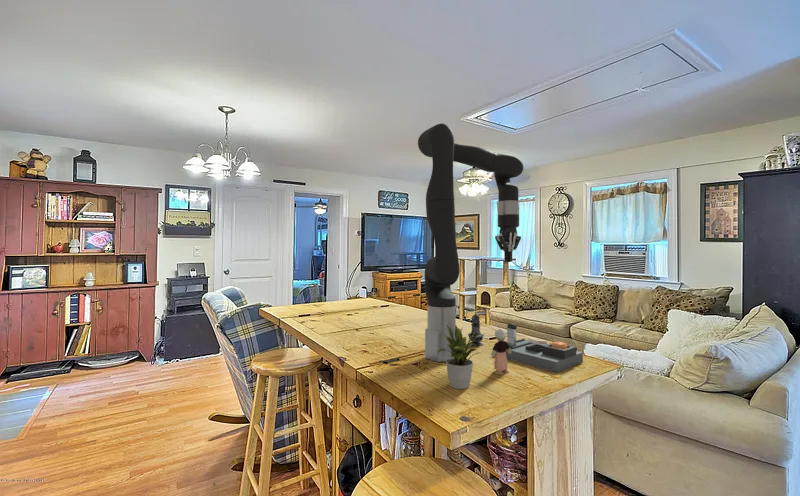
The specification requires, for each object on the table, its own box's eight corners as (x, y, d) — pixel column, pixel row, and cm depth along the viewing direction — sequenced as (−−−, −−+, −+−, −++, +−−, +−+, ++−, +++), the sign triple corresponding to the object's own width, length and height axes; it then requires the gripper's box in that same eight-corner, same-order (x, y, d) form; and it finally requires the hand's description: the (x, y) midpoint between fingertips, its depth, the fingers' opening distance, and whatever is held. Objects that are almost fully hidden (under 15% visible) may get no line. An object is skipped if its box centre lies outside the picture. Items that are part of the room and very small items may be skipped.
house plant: (418, 380, 102) (418, 320, 102) (458, 372, 109) (458, 316, 109) (450, 398, 90) (450, 330, 89) (493, 388, 96) (493, 324, 96)
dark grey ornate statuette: (482, 342, 142) (482, 311, 142) (484, 346, 136) (484, 313, 136) (467, 342, 143) (467, 310, 143) (468, 346, 137) (468, 313, 137)
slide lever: (514, 347, 124) (514, 325, 124) (506, 345, 126) (506, 323, 126) (518, 346, 125) (518, 324, 125) (509, 344, 127) (509, 322, 127)
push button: (562, 356, 113) (562, 346, 113) (548, 352, 117) (548, 343, 117) (569, 353, 116) (569, 343, 116) (556, 350, 119) (556, 340, 119)
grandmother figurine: (501, 368, 112) (501, 326, 112) (513, 371, 110) (513, 328, 109) (487, 374, 107) (487, 330, 107) (499, 377, 104) (499, 332, 104)
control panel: (556, 372, 108) (556, 353, 108) (494, 355, 126) (494, 338, 126) (583, 361, 118) (583, 344, 118) (521, 347, 136) (521, 332, 136)
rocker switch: (538, 343, 119) (538, 340, 119) (527, 341, 122) (528, 338, 122) (546, 344, 122) (546, 341, 122) (536, 342, 125) (536, 339, 125)
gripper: (510, 215, 142) (510, 261, 142) (488, 213, 134) (488, 262, 134) (527, 214, 137) (527, 261, 137) (506, 212, 128) (506, 262, 128)
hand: (508, 261), depth 135 cm, fingers closed
